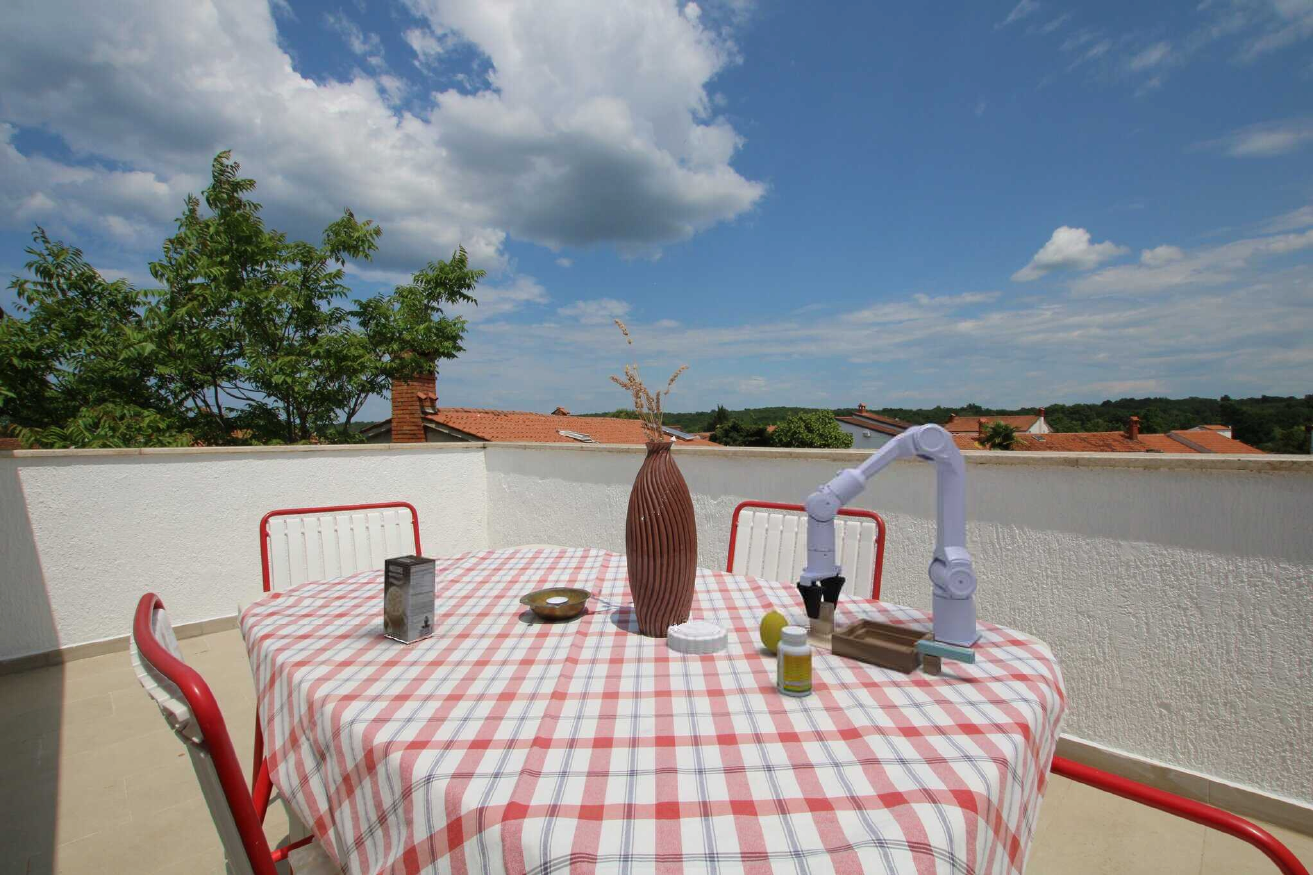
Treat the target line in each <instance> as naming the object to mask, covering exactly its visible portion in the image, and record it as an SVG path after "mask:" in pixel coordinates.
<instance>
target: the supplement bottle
mask: <svg viewBox="0 0 1313 875" xmlns="http://www.w3.org/2000/svg"><path fill="white" fill-rule="evenodd" d="M802 627H803V626H802ZM802 627H801V626H796V625H793V626H792V625H789V626H786V627H783V628H782V632H781V637H782V639H783V640H781V641H780V642H779V643H778V645H777V653H776V672H777V673H776V683H777V687H776V688H777V690H778V691H779V692H780V693H782V694H784V695H786V696H790V697H796V698H801V697H802V698H803V697H807V696H809V695H810V694H811V693H812V690H813V689H812V688H813V687H812V685H813V684H812V683H813V679H812V678H813V676H812V675H813V673H812V672H813V669H812V667H813V666H812V664H813V662H812V660H813V659H812V657H813V655H812V653H813V650H812V646H810V645H809V643H807V642H806V640H807V638H808V637H807V630H806V629H804V628H802Z"/></svg>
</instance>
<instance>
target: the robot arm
mask: <svg viewBox="0 0 1313 875" xmlns="http://www.w3.org/2000/svg"><path fill="white" fill-rule="evenodd" d="M913 456H915V457H917V458H920V459H922V460H924V461H925V462H926V463H928V464H929V465H930V466H931V467H932V468H934V469H935V470H936V546H935V548H934V549H933V551H932V558H931V562H930V564H929V565H928V568H927V575H928V578H929V580H930V581H931V583H933V588H931V592H932V593H931V594H932V595H931V596H932V597H931V598H932V600H931V601H932V631H931V632H929V633H934V634H935V641H938V642H943V643H947V644H953V645H957V646H960V647H961V646H962V647H966V648H970V647H972V645H973V644H975V643H976V642H977V641H978V640H980V638H981V637H982V633H979V632H977V614H976V611H977V610H976V608H977V607H976V603H975V600H974V598H973V594H974V593H975V592H976V590H977V588H978V578H977V576H976V574H975V572H974V570H973V561H972V558H971V556H970V554H969V553H968V550H967V548H966V547H967V545H966V544H967V543H966V542H967V540H966V538H967V536H966V535H967V533H966V532H967V531H966V529H967V528H966V526H967V524H966V523H967V522H966V521H967V520H966V514H967V513H966V509H967V506H966V495H967V494H966V486H967V485H966V483H967V482H966V481H967V478H966V476H967V475H966V465H967V464H966V460H965V458H964V456H963V455H962V453H961V451H960V450H959V448H958V446H957V445H956V443H955V441H954V439H953V434H952V433H951V432H950V431H948V430H946V429H945V428H943V427H942V426H940V425H938V424H936V423H926V424H924V425H913V426H910V427H908V428H907V429H906V430H904V432H902V433H899V434H897V435H896V436H894V437H893V438H891V439H890V440H889V441H888V442H886V443H885V444H884V445H883V446H882V447H880V448H879V449H878V450H877V451H876V452H874V453H873V454H872V455H871V456H869V458H867V459H866V460H865V461H864V462H862V463H861V464H860V465H859V466H857V467H856V468H845V469H844V470H842V469H839V470H838V471H836V472H835V474H836V476H835V477H833V479H831V480H829V481H828V483H826V484H825V485H822V484H821V485H820V486H819V487H818V490H819V491H818V492H812V493H811V494H810V495H809V496H808V497H807V498H806V500H805V504H804V505H803V506H804V510H805V512H806V514H807V520H806V522H807V527H806V550H807V551H806V552H807V553H806V560H807V561H806V562H807V564H806V565H807V566H806V567H805V566H804V567H803V568H802V572H803V573H802V574H800V575H799V581H797V582H796V588H797V590H798V592H799V593H800V595H801V598H802V601H803V603H804V607H805V611H806V616H807V618H808V619H810V618H812V619H818V618H819V614H820V604H821V601H822V599H823V602H828V603H833V604H834V612H836V611H837V606H838V601H839V598H840V594H841V591H842V588H843V587H844V585H845V583H846V577H844V576H841V575H842V566H841V565H837V564H836V528H835V517H836V516H837V514H838V510H839V508H841V509H842V508H843V507H844V506H846V505H847V504H848V503H850V502H852V500H854V499H855V498H856V497H858V496H859V495H861V493H863V492H864V491H865V490H866V488H867V481H868V480H870V479H871V478H872V477H874V476H875V475H877V474H878V473H880V472H881V471H882V470H883V469H885V468H886V467H888V466H889V465H891V464H892V463H893V462H895V461H896V460H898V459H901V458H907V457H913ZM817 582H819V584H820V585H819V584H818V583H817Z"/></svg>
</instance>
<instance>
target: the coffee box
mask: <svg viewBox="0 0 1313 875" xmlns="http://www.w3.org/2000/svg"><path fill="white" fill-rule="evenodd" d="M436 562H437V561H436V559H435V558H434V559H433V558H430V557H429V558H428V557H424V556H421V555H420V556H418V555H416V554H415V555H414V554H409V555H408V554H407V555H404V556H403V555H402V556H398V557H392V558H387V559H386V558H385V559H384V573H383V574H384V575H383V576H384V578H383V579H384V580H383V582H384V584H383V585H384V586H383V623H382V624H383V634H384V635H388V636H391V637H393V638H397V639H399V640H403V641H405V642H411V641H413V640H416V639H419V638H422V637H424V636H427V635H431V634H432V633H434V634H435V614H436V613H435V612H436V608H435V607H436V606H435V604H436V602H435V601H436Z"/></svg>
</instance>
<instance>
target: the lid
mask: <svg viewBox="0 0 1313 875" xmlns="http://www.w3.org/2000/svg"><path fill="white" fill-rule="evenodd" d="M807 625H808V624H806V625H805V626H807ZM808 626H810V627H803V626H802V628H804V629H806V630H807V629H808V630H807V637H808V638H807V640H806V642H807V643H809V645H810V646H811V647H814V648H819V649H822V650H826V651H830V652H832V645H831V635H832V634H834V633H835V632H837V631H838V630H835V611H834V604H833V603H828V602H824V601H822V600H821V604H820V614H819V618H818V619H812V618H809V625H808ZM809 629H810V630H809Z"/></svg>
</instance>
